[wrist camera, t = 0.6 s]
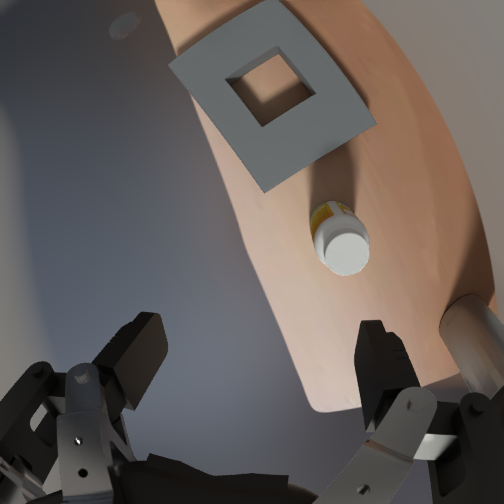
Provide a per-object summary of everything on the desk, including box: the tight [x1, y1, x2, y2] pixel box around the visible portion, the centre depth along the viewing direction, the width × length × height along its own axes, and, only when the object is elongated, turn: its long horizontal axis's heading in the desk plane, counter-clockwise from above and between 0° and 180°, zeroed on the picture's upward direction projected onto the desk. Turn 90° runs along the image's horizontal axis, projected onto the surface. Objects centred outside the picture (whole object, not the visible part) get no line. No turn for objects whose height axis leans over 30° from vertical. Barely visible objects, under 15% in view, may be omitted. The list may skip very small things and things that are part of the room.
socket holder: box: [168, 0, 377, 193], centre depth 25 cm, size 18×14×3 cm
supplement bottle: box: [310, 201, 370, 276], centre depth 27 cm, size 5×5×10 cm
